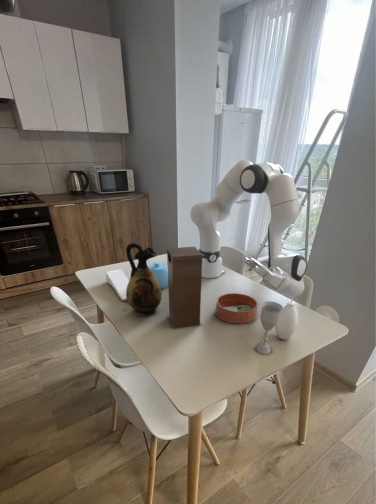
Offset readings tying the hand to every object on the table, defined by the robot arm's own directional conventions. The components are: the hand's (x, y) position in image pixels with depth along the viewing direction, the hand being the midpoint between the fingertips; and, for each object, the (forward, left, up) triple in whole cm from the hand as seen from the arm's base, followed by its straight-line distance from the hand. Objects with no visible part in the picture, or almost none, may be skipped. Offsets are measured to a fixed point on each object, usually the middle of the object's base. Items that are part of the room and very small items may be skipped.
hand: (249, 263), depth 116 cm
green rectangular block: (0, -3, -22) cm, 22 cm away
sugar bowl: (-40, -32, -23) cm, 56 cm away
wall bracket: (-37, -51, -23) cm, 67 cm away
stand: (0, -27, -23) cm, 36 cm away
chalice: (+27, -4, -23) cm, 36 cm away
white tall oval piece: (+22, +7, -23) cm, 33 cm away
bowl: (0, -4, -23) cm, 23 cm away
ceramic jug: (-13, -43, -23) cm, 50 cm away
